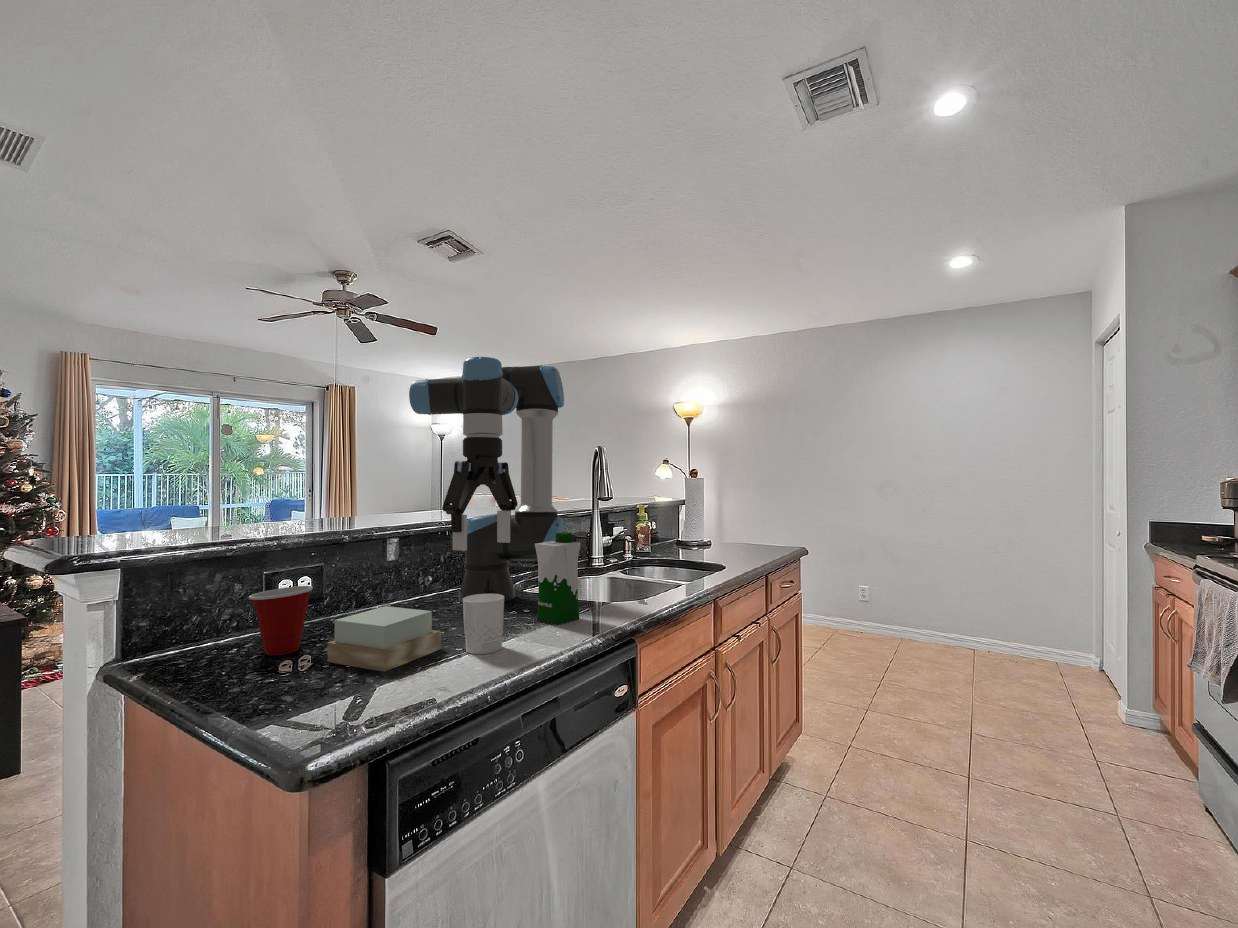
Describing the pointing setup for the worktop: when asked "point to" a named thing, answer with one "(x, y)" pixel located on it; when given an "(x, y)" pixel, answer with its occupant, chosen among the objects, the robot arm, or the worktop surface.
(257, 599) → the plastic cup
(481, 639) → the white cup
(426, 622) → the tower top
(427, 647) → the tower base
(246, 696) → the worktop surface
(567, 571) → the milk carton
